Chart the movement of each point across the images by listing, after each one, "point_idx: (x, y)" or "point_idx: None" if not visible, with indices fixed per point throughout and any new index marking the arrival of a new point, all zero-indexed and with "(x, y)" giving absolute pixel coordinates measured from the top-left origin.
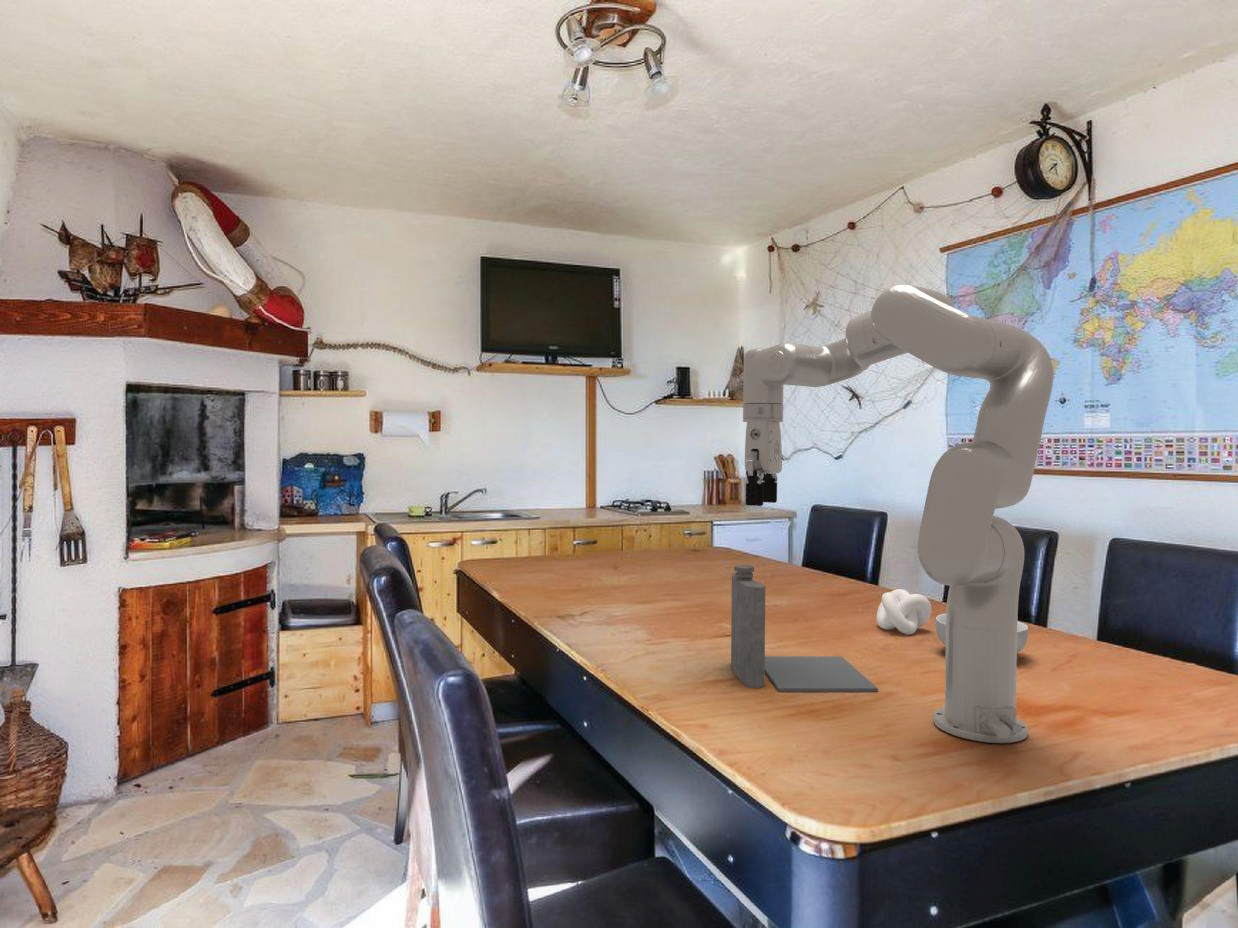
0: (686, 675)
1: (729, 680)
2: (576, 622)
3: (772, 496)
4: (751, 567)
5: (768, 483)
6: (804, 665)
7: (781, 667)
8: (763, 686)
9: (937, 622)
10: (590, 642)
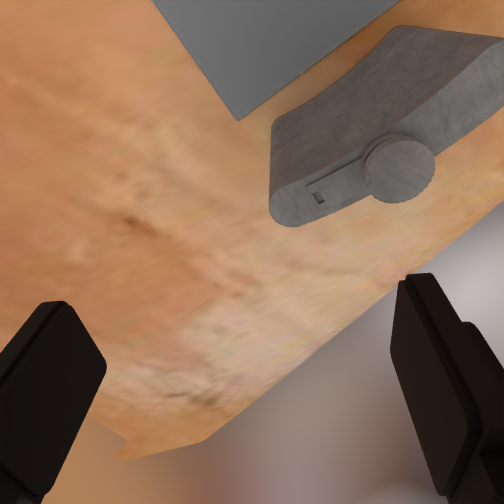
0: None
1: None
2: (219, 383)
3: (59, 344)
4: (411, 145)
5: (14, 463)
6: (240, 1)
7: (281, 42)
8: (404, 25)
9: None
10: (294, 337)
